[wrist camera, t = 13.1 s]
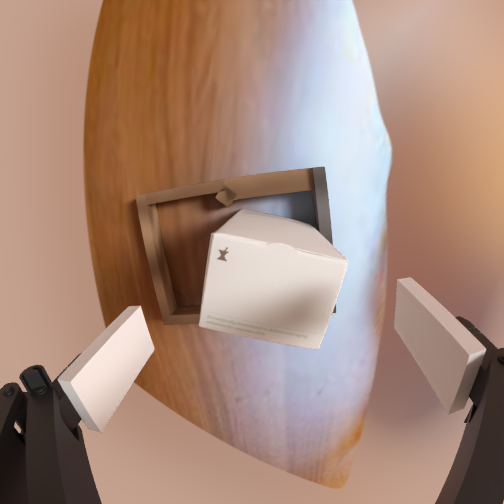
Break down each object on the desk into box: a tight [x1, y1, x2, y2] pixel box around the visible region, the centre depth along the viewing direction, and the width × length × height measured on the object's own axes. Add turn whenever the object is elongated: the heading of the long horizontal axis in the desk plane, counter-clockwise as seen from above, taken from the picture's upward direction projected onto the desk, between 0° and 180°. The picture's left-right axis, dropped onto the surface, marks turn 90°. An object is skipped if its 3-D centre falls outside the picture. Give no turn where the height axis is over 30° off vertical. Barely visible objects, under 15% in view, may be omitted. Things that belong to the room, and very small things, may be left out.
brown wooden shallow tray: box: [136, 167, 336, 325], centre depth 30 cm, size 15×20×3 cm
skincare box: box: [199, 209, 348, 350], centre depth 24 cm, size 8×7×16 cm
